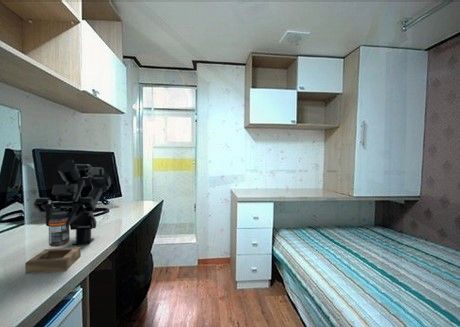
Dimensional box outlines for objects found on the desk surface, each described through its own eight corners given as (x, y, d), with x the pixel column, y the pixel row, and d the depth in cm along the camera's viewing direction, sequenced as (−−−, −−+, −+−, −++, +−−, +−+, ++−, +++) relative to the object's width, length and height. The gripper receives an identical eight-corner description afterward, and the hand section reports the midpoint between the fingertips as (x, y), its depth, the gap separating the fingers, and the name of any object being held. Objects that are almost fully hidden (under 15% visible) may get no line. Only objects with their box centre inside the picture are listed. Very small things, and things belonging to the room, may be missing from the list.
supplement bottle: (56, 241, 85) (56, 210, 84) (73, 241, 85) (73, 210, 85) (44, 247, 79) (44, 214, 78) (62, 247, 79) (62, 214, 79)
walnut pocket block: (45, 258, 84) (45, 249, 84) (80, 256, 86) (80, 247, 86) (25, 273, 72) (25, 262, 72) (66, 270, 75) (66, 259, 75)
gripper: (36, 175, 83) (14, 213, 73) (92, 176, 87) (79, 212, 76) (49, 194, 91) (30, 230, 81) (100, 193, 95) (89, 228, 84)
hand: (57, 225), depth 80 cm, fingers closed on supplement bottle, 6 cm apart
